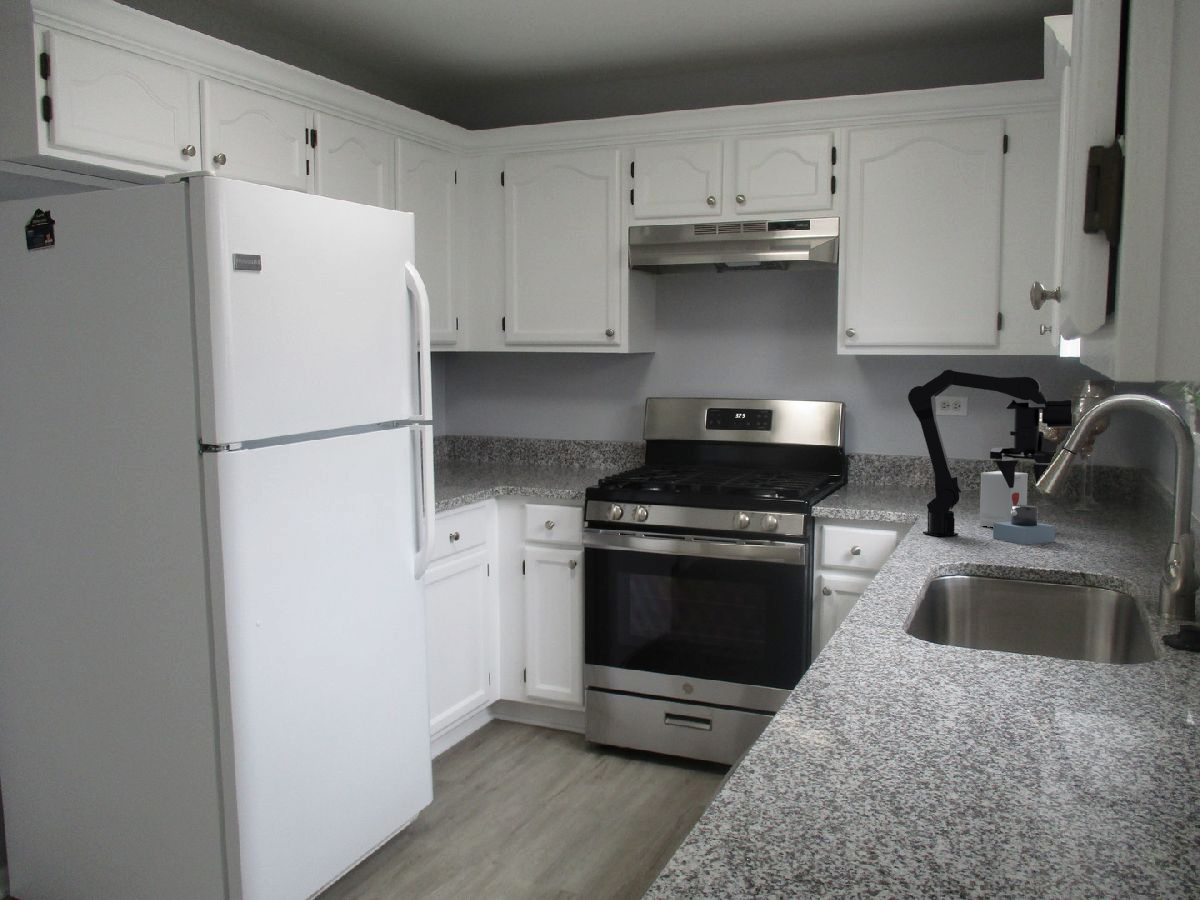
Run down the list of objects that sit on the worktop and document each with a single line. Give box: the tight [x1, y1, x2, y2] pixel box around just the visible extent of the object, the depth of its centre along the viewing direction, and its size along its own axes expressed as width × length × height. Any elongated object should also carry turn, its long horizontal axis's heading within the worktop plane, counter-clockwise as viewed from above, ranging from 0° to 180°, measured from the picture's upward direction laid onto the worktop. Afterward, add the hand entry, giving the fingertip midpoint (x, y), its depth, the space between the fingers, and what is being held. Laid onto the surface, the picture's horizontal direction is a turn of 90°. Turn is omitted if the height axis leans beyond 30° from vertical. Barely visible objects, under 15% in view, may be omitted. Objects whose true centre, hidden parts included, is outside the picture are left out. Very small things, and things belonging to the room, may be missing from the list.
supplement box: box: [979, 470, 1029, 528], centre depth 260 cm, size 9×9×15 cm
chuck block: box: [992, 522, 1056, 546], centre depth 238 cm, size 10×10×4 cm
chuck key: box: [1010, 504, 1039, 526], centre depth 238 cm, size 8×6×8 cm
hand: (1025, 489), depth 237 cm, fingers open, 9 cm apart
